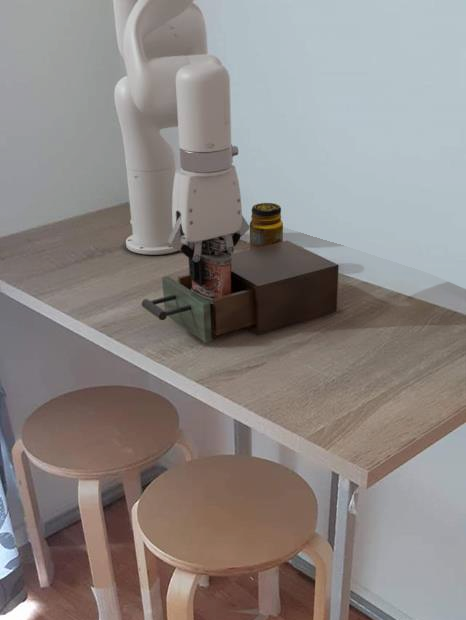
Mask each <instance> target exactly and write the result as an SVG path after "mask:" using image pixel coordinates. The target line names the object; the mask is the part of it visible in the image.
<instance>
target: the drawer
mask: <svg viewBox="0 0 466 620" xmlns="http://www.w3.org/2000/svg"><path fill="white" fill-rule="evenodd" d="M161 280H162V282H161V283H162V293H163V297H161V298H156V299H152V300H150V299H148V298H145V299H143V300H142V301H141V306H142V308H144V309H145V310H146V311H148V312H149V313H150V314H152V315H153V316H154V317H156V318H157V319H159V320H160V321H164V320H166V319H167V317H169V318H170V319H172V320H173V321H174V322H176V323H177V324H178V325H180V326H181V327H183V328H184V329H185V330H187V331H188V332H190V333H191V334H192V335H194V336H195V337H196V338H198V339H199V340H201V342H203V343H208V342H212V341H213V340H212V334H214V335H215V336H219V335H223V334H226V333H230V332H234V331H236V330H240V329H245V328H248V326H251V325H255V324H256V311H255V289H254V288H252V287H250V286H249V285H247V284H245V283H243V282H242V281H240V280H238V279H236V278H235V277H233V276H231V294H229V295H225V296H222V297H218V298H214V299H213V304H211V303H210V302H208V301H206V300H205V299H203V298H202V297H200V296H199V295H197V294H196V293H194V292H192V291H191V288H192V279H191V278H190V273H187V274H182V275H179V276H177V280H175V278H172V277H171V276H169V275H167V276H163V277H162V278H161ZM162 303H163V306H164V309H162V308H161V307H159V306H158V305H159V304H162Z"/></svg>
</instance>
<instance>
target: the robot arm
mask: <svg viewBox="0 0 466 620" xmlns="http://www.w3.org/2000/svg"><path fill="white" fill-rule="evenodd" d="M194 1H195V0H112V4H113V5H112V6H113V16H114V25H115V34H116V35H115V36H116V42H117V47H118V51H119V55H120V57H121V58H122V60H124V67H125V71H126V75H125V76H123V77H121V79H119V80H118V81H117V83H116V85H115V86H114V92H113V96H114V104H115V109H116V114H117V117H118V122H119V126H120V130H121V134H122V136H121V137H122V143H123V150H124V158H125V159H124V161H125V167H126V168H125V169H126V179H127V188H128V199H129V209H130V210H129V211H130V221H129V222H130V225H131V231H132V234H131V235H130V236H128V237H127V238H126V239H125V247H126V249H127V250H129V251H130V252H132V253H136V254H139V255H147V256H153V255H154V256H158V255H167V254H172V253H177V252H181V253H182V254H183V255H184V256H185V257H187V258H188V270H189V272H188V274H190V278H191V279H192V281H193V282H195V283H197V284H198V285H200V286H203V285H204V284H205V275H204V262H203V261H202V260H201V259H200V257H201V249H202V241H205V240H209V239H213V238H214V239H219V240H223V241H225V242H226V243H227V250H225V251H222V252H225V253H227V254H229V255H231V254H233V253H235V247H236V246H237V244H238V243H239V241H240V240H241V237H243V236H244V235H245V234H246V233H247V232H248V231H249V230H250V224H249V223H248V221H247V220H246V219H245V217H244V215H243V211H242V210H243V209H242V208H243V207H242V197H241V196H242V195H241V188H240V183H239V178H238V173H237V168H236V166H235V165H233V159H234V158H233V157H235V156H238V155H239V148H238V146H237V145H233V144H232V116H231V115H232V114H231V113H232V111H231V109H232V108H231V81H230V80H231V79H230V73H229V71H228V69H227V68H226V66H224V65H223V63H222V61H221V60H220V58H219V57H217V56H215V55H213V54H209V51H208V35H207V33H208V32H207V26H206V25H207V24H206V21H205V18H204V16H203V13H202V10H201V8H200V7H199V6H198V5H197V4H196V3H194ZM168 128H178V144H179V162H180V163H179V164H180V169H177V164H176V163H177V162H176V154H175V150H174V148H173V147H172V145H171V144H170V142H169V141H168V140H167V139H166V138H165V137H164V136H163V135H162V134H161V132H160V131H161V130H163V129H164V130H165V129H168ZM230 270H231V263H230Z"/></svg>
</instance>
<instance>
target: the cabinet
mask: <svg viewBox="0 0 466 620" xmlns="http://www.w3.org/2000/svg"><path fill="white" fill-rule="evenodd" d="M339 267H340V265H339V263H335V262H334V261H332V260H330V259H327V258H325V257H323V256H321V255H319V254H317V253H315V252H312V251H311V250H308V249H306V248H304V247H303V246H300V245H299V244H296V243H294V242H292V241H290V240H283V242H279V243H275V244H270V245H266V246H262V247H258V248H254V249H250V248H249V249H246V250H242V251H237V252H233V253H232V254H231V276H233V277H235V278H236V279H238V280H240V281H242V282H243V283H245V284H247V285H249V286H250V287H252V288H254V289H255V311H256V324H255V325H251V326H248V327H247V328H248V329H249V330H251V331H252V332H254V333H255V334H257V335H262V334H265V333H268V332H272V331H276V330H279V329H282V328H285V327H289V326H293V325H296V324H299V323H303V322H307V321H309V320H313V319H317V318H320V317H323V316H326V315H329V314H334V313H336V312H337V309H338V292H339V291H338V288H339V270H340V269H339Z"/></svg>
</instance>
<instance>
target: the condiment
mask: <svg viewBox="0 0 466 620" xmlns="http://www.w3.org/2000/svg"><path fill="white" fill-rule="evenodd" d="M281 214H282V208H281V206H280V205H279V204H277V203H272V202H261V203H256V204H254V205H253V206H252V207H251V220H250V222H249V250H250V249H254V248H258V247H262V246H266V245H270V244H275V243H279V242H283V241H284V222H283V221H282V215H281Z"/></svg>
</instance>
